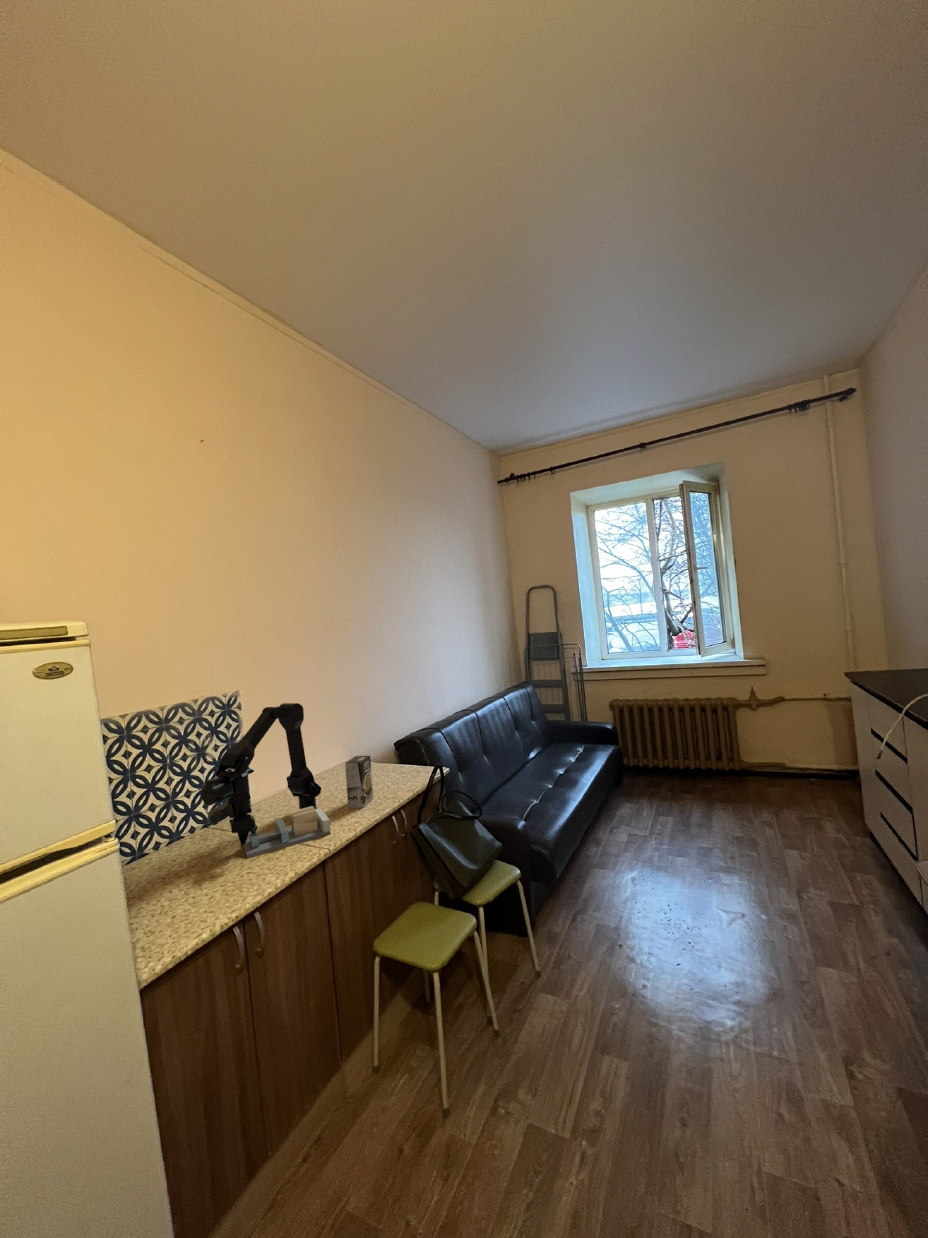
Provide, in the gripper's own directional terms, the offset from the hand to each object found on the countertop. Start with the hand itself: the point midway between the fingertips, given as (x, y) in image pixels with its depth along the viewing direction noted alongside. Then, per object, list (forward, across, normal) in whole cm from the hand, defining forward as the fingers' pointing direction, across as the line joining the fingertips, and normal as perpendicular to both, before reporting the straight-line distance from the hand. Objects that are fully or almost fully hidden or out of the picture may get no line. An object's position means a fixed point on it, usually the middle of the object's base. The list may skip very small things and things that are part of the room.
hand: (243, 844), depth 143 cm
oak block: (+1, 0, +18) cm, 18 cm away
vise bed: (+2, 0, +12) cm, 13 cm away
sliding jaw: (+1, 0, +7) cm, 7 cm away
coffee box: (+2, -13, +40) cm, 42 cm away
